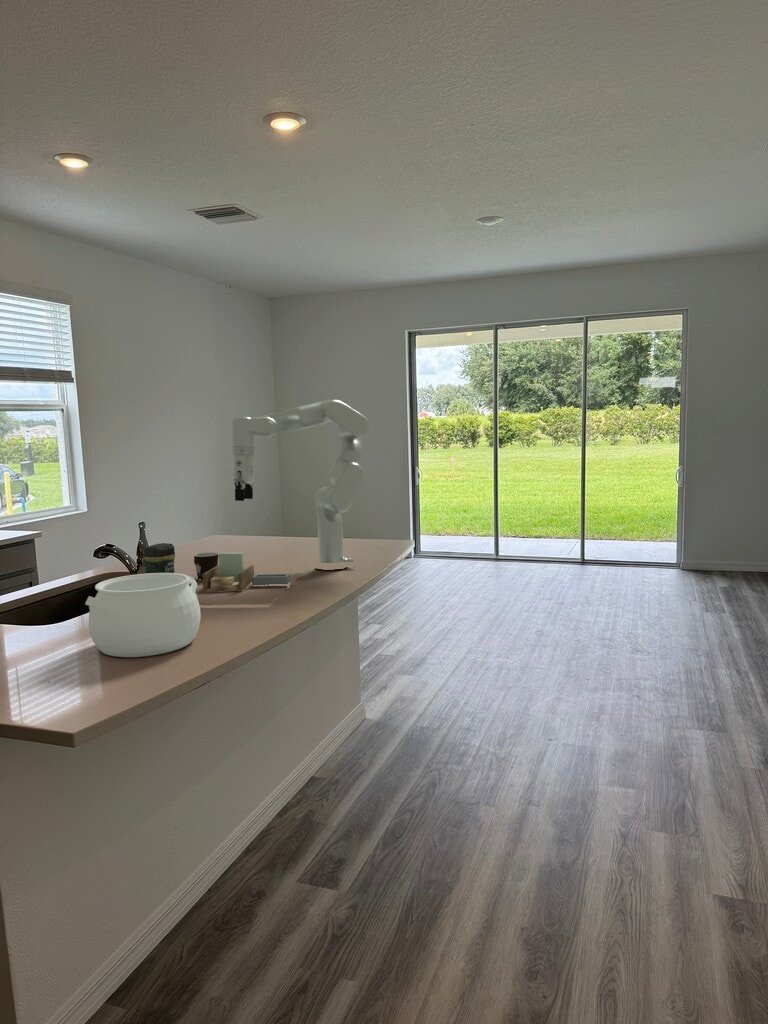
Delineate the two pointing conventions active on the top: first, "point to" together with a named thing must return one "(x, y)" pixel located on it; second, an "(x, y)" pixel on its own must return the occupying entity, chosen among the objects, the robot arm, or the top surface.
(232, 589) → the rack
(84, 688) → the top surface
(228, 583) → the offcut top
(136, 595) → the pot
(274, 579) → the holder
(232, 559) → the board
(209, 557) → the coffee mug
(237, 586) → the offcut low
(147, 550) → the coffee jar
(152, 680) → the top surface
